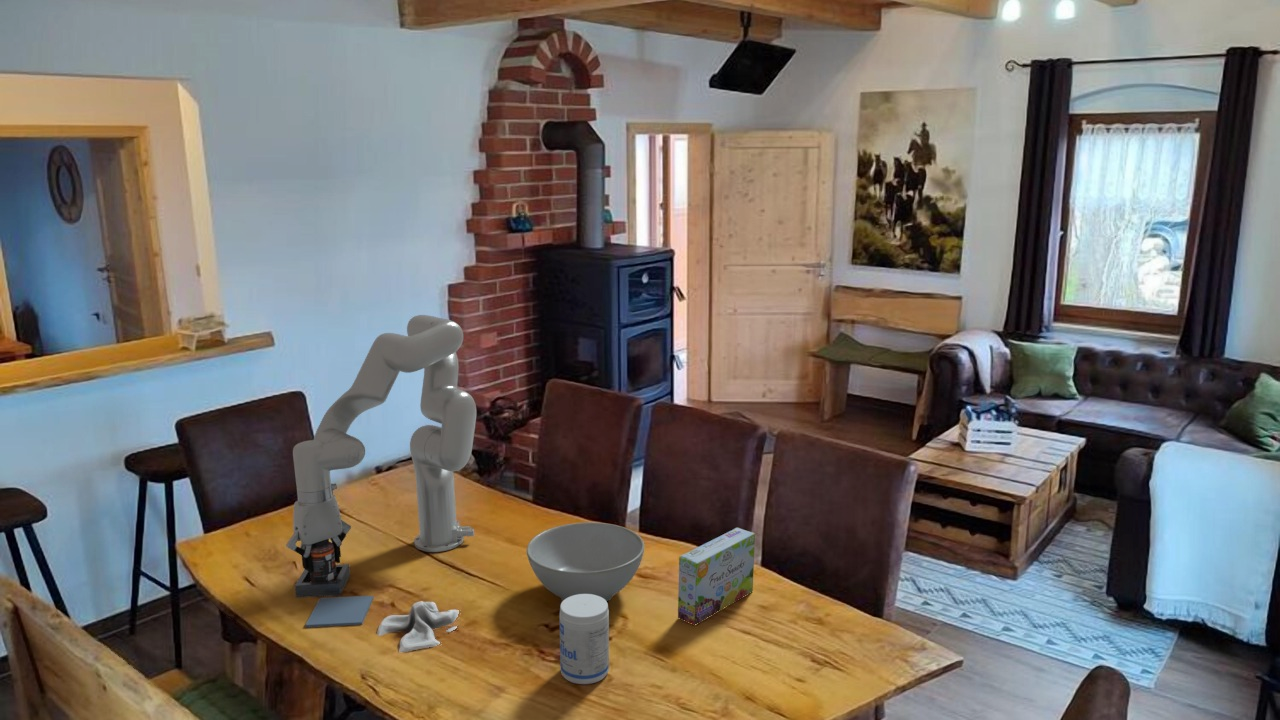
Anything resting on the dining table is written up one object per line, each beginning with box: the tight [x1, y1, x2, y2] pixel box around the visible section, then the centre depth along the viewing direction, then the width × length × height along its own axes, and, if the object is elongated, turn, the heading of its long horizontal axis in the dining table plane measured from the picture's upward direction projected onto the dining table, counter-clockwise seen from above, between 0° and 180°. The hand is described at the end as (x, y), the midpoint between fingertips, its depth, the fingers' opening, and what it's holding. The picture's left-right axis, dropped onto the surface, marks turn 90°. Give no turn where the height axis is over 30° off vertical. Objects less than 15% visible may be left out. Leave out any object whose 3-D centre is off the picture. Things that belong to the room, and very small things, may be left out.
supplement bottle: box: [309, 539, 337, 583], centre depth 213 cm, size 6×6×11 cm
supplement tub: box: [559, 594, 610, 685], centre depth 177 cm, size 10×10×15 cm
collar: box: [294, 563, 351, 599], centre depth 214 cm, size 10×10×3 cm
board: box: [304, 595, 374, 628], centre depth 203 cm, size 12×12×1 cm
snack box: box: [677, 527, 756, 626], centre depth 202 cm, size 21×6×15 cm, turn 137°
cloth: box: [376, 600, 459, 653], centre depth 197 cm, size 22×19×6 cm
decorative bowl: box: [526, 521, 645, 602], centre depth 208 cm, size 27×27×12 cm
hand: (322, 565), depth 214 cm, fingers closed on supplement bottle, 6 cm apart
